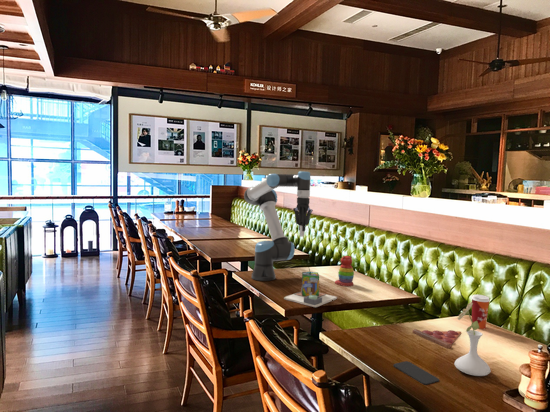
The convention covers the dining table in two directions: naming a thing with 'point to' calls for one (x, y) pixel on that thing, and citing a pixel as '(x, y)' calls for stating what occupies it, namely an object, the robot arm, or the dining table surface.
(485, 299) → the paper cup
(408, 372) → the phone
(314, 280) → the chalk box
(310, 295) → the button
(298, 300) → the picture board
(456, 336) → the pizza slice
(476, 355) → the flower in vase
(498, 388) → the dining table surface
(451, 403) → the dining table surface
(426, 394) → the dining table surface
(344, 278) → the stacking bear
